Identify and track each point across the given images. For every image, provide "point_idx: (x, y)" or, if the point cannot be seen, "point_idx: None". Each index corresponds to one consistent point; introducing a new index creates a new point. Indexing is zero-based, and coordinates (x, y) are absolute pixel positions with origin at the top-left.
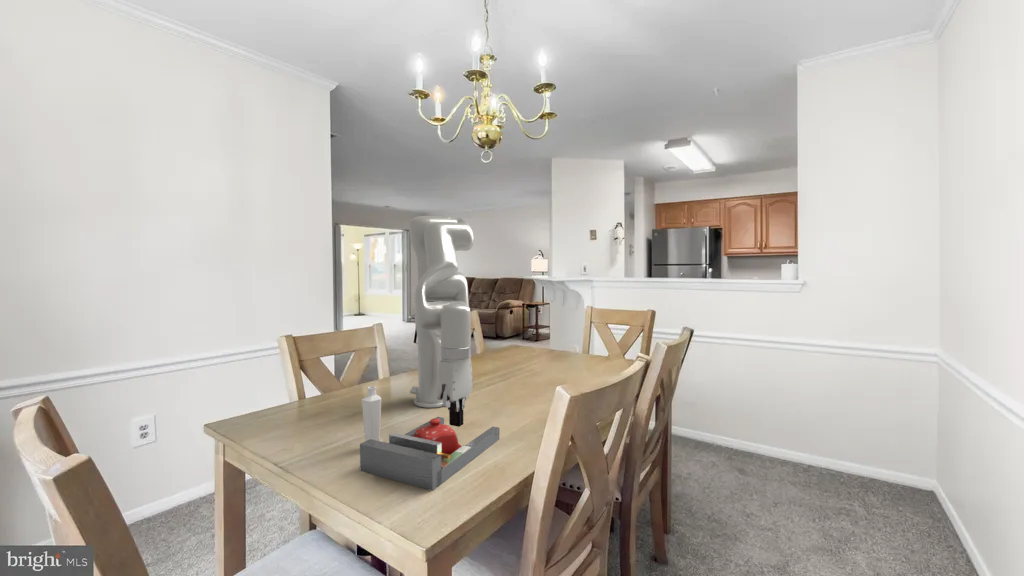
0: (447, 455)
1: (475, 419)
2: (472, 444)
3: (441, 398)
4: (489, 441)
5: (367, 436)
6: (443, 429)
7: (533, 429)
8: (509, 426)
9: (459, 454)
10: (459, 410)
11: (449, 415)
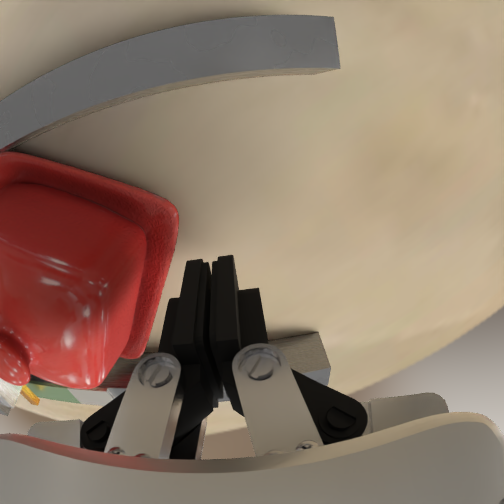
0: (31, 402)
1: (469, 158)
2: None
3: (35, 447)
4: None
5: None
6: (43, 377)
7: (414, 359)
8: (429, 307)
9: (70, 401)
10: (215, 400)
11: (178, 304)
